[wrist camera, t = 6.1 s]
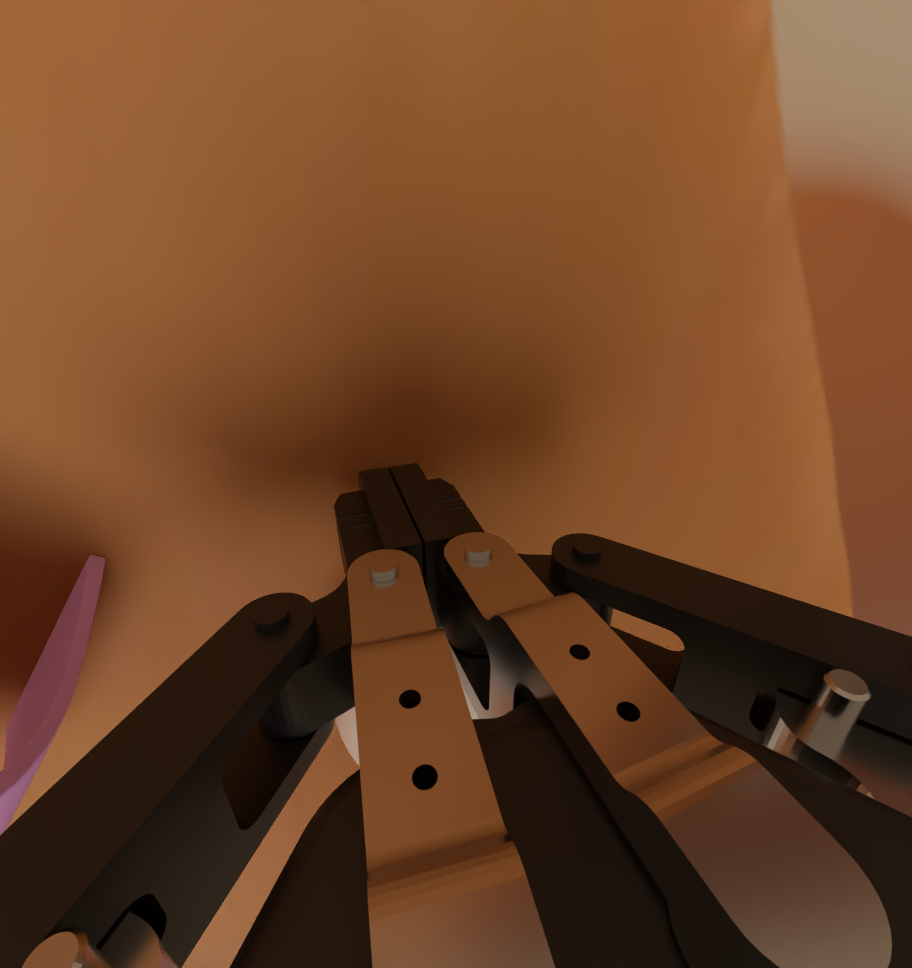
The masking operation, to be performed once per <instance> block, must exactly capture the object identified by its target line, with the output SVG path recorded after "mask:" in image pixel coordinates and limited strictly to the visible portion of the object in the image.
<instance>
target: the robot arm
mask: <svg viewBox="0 0 912 968" xmlns="http://www.w3.org/2000/svg"><path fill="white" fill-rule="evenodd" d="M358 481H359V490H360V491H355V492H349V493H343V494H340V496H339V498H338V499H337V501H336V503H335V505H334V508H335V515H336V522H337V529H338V536H339V542H340V549H341V556H342V561H343V566H344V571H345V576H346V577H345V579H344V581H343V583H342V584H341V585H340V586H339V587H338V588H337V589H336V590H335V591H333V592H332V593H330V594H329V595H327V596H325V597H323V598H321V599H319V600H317V601H315V602H313V603H311V602H310V601H309V600H308V599H307V598H305V597H304V596H301V595H299V594H294V593H275V594H270V595H267V596H263V597H261V598H258V599H256V600H254V601H252V602H250V603H249V604H247V605H246V606H244V607H243V608H242V609H241V610H240V611H238V612H237V613H236V614H235V615H234V616H233V617H232V618H231V619H230V620H229V621H228V622H227V623H226V624H225V625H224V626H223V627H221V628H220V629H219V630H218V631H217V632H216V633H215V634H214V635H213V636H212V637H211V638H210V639H209V640H208V641H207V642H205V643H204V644H203V645H202V646H201V647H200V648H199V649H198V650H197V651H196V652H195V653H194V654H193V655H192V656H191V657H190V658H188V659H187V660H186V661H185V662H184V663H183V664H182V665H181V666H180V667H179V668H178V669H177V670H176V671H175V672H174V673H172V674H171V675H170V676H169V677H168V678H167V679H166V680H165V681H164V682H163V683H162V684H161V685H160V686H159V687H158V688H157V689H155V690H154V691H153V692H152V693H151V694H150V695H149V696H148V697H147V698H146V699H145V700H144V701H143V702H142V703H141V704H139V705H138V706H137V707H136V708H135V709H134V710H133V711H132V712H131V713H130V714H129V715H128V716H127V717H126V718H125V719H124V720H122V721H121V722H120V723H119V724H118V725H117V726H116V727H115V728H114V729H113V730H112V731H111V732H110V733H109V734H108V735H106V736H105V737H104V738H103V739H102V740H101V741H100V742H99V743H98V744H97V745H96V746H95V747H94V748H93V749H92V750H91V751H89V752H88V753H87V754H86V755H85V756H84V757H83V758H82V759H81V760H80V761H79V762H78V763H77V764H76V765H75V766H73V767H72V768H71V769H70V770H69V771H68V772H67V773H66V774H65V775H64V776H63V777H62V778H61V779H60V780H59V781H58V782H56V783H55V784H54V785H53V786H52V787H51V788H50V789H49V790H48V791H47V792H46V793H45V794H44V795H43V796H42V797H41V798H39V799H38V800H37V801H36V802H35V803H34V804H33V805H32V806H31V807H30V808H29V809H28V810H27V811H26V812H25V813H23V814H22V815H21V816H20V817H19V818H18V819H17V820H16V821H15V822H14V823H13V824H12V825H11V826H10V827H9V828H8V829H6V830H5V831H4V832H3V833H2V834H1V835H0V968H181V967H182V966H183V964H184V962H185V961H186V959H187V958H188V956H189V955H190V953H191V952H192V950H193V948H194V947H195V945H196V944H197V942H198V941H199V939H200V937H201V936H202V934H203V933H204V931H205V930H206V928H207V926H208V925H209V923H210V922H211V920H212V919H213V917H214V915H215V914H216V912H217V911H218V909H219V908H220V906H221V905H222V903H223V901H224V900H225V898H226V897H227V895H228V894H229V892H230V890H231V889H232V887H233V886H234V884H235V883H236V881H237V879H238V878H239V876H240V875H241V873H242V872H243V870H244V868H245V867H246V865H247V864H248V862H249V861H250V859H251V858H252V856H253V854H254V853H255V851H256V850H257V848H258V847H259V845H260V843H261V842H262V840H263V839H264V837H265V836H266V834H267V832H268V831H269V829H270V828H271V826H272V825H273V823H274V821H275V820H276V818H277V817H278V815H279V814H280V812H281V811H282V809H283V807H284V806H285V804H286V803H287V801H288V800H289V798H290V796H291V795H292V793H293V792H294V790H295V789H296V787H297V785H298V784H299V782H300V781H301V779H302V778H303V776H304V774H305V773H306V771H307V770H308V768H309V767H310V765H311V763H312V762H313V760H314V759H315V757H316V756H317V754H318V753H319V751H320V749H321V748H322V746H323V745H324V743H325V742H326V740H327V738H328V737H329V735H330V733H331V731H332V729H333V726H334V720H335V718H337V717H338V716H340V715H341V714H343V713H345V712H346V711H348V710H350V709H351V708H353V707H355V712H356V725H357V738H358V752H359V765H360V769H359V770H358V771H356V772H355V773H354V774H352V775H351V776H350V777H349V778H347V779H346V780H345V781H344V782H343V783H342V784H341V785H340V786H339V787H338V788H337V789H335V790H334V791H333V792H332V793H331V795H330V796H329V797H328V798H327V799H326V800H325V802H324V803H323V804H322V805H321V806H320V807H319V809H318V810H317V812H316V813H315V815H314V816H313V817H312V819H311V820H310V822H309V823H308V825H307V827H306V828H305V830H304V832H303V833H302V835H301V837H300V839H299V841H298V843H297V844H296V846H295V848H294V850H293V852H292V854H291V855H290V857H289V859H288V861H287V863H286V865H285V866H284V868H283V870H282V872H281V874H280V876H279V878H278V879H277V881H276V883H275V885H274V887H273V889H272V890H271V892H270V894H269V896H268V898H267V900H266V901H265V903H264V905H263V907H262V909H261V911H260V913H259V914H258V916H257V918H256V920H255V922H254V924H253V925H252V927H251V929H250V931H249V933H248V935H247V936H246V938H245V940H244V942H243V944H242V946H241V948H240V949H239V951H238V953H237V955H236V957H235V959H234V960H233V962H232V964H231V966H230V968H912V637H911V636H908V635H904V634H901V633H898V632H895V631H892V630H889V629H886V628H883V627H880V626H876V625H873V624H870V623H867V622H864V621H861V620H858V619H855V618H852V617H848V616H845V615H842V614H839V613H836V612H833V611H830V610H827V609H823V608H820V607H817V606H814V605H811V604H808V603H805V602H802V601H799V600H795V599H792V598H789V597H786V596H783V595H780V594H777V593H774V592H770V591H767V590H764V589H761V588H758V587H755V586H752V585H749V584H746V583H742V582H739V581H736V580H733V579H730V578H727V577H724V576H721V575H717V574H714V573H711V572H708V571H705V570H702V569H699V568H696V567H692V566H689V565H686V564H683V563H680V562H677V561H674V560H671V559H668V558H664V557H661V556H658V555H655V554H652V553H649V552H646V551H643V550H639V549H636V548H633V547H630V546H627V545H624V544H621V543H618V542H615V541H611V540H608V539H605V538H602V537H599V536H595V535H591V534H582V533H578V534H569V535H565V536H563V537H561V538H559V539H557V540H556V541H555V542H554V544H553V546H552V553H551V555H527V554H518V553H516V552H515V551H514V550H513V549H512V547H511V546H510V545H509V544H508V543H507V542H506V541H505V540H503V539H502V538H500V537H498V536H496V535H493V534H489V533H485V532H484V531H483V529H482V528H481V526H480V525H479V523H478V522H477V520H476V519H475V517H474V516H473V514H472V513H471V511H470V510H469V508H468V507H467V506H466V504H465V502H464V501H463V499H461V496H460V495H459V493H458V492H457V490H456V489H455V487H454V486H453V485H451V484H449V483H447V482H446V481H444V480H442V479H440V478H437V479H431V480H427V479H426V477H425V475H424V473H423V472H422V470H421V468H420V467H419V465H418V464H417V463H413V464H406V465H399V466H393V467H389V468H387V467H386V468H380V469H373V470H366V471H359V472H358ZM613 608H614V609H616V610H619V611H622V612H624V613H627V614H629V615H632V616H635V617H637V618H640V619H642V620H645V621H647V622H650V623H653V624H655V625H658V626H660V627H663V628H665V629H668V630H670V631H672V632H673V633H675V634H676V635H677V636H678V637H679V638H680V639H681V640H682V642H683V644H684V647H685V650H683V651H671V650H668V649H666V648H663V647H661V646H658V645H656V644H653V643H651V642H648V641H646V640H644V639H641V638H639V637H636V636H634V635H631V634H629V633H626V632H624V631H621V630H619V629H617V628H614V627H612V626H610V624H611V618H612V613H613ZM441 627H443V628H441ZM437 628H438V629H437ZM461 684H462V685H461ZM462 686H463V688H464V690H465V692H466V694H467V696H468V698H469V700H470V702H471V704H472V706H473V708H474V710H475V712H476V714H477V716H478V718H479V719H472V718H471V715H470V711H469V708H468V705H467V701H466V698H465V695H464V692H463V688H462Z"/></svg>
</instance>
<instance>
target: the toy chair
mask: <svg viewBox="0 0 912 968" xmlns="http://www.w3.org/2000/svg"><path fill="white" fill-rule="evenodd" d="M105 561H106V558H103V557H100V556H96V555H92V554H91V555H90V556H89V557H88V559H87V561H86V563H85V565H84V567H83V569H82V571H81V573H80V575H79V577H78V579H77V582H76V584H75V586H74V588H73V590H72V592H71V594H70V596H69V598H68V600H67V602H66V604H65V606H64V608H63V610H62V613H61V615H60V617H59V619H58V621H57V623H56V625H55V627H54V629H53V631H52V633H51V635H50V637H49V639H48V641H47V644H46V646H45V648H44V650H43V652H42V654H41V656H40V658H39V660H38V662H37V664H36V666H35V668H34V670H33V672H32V675H31V677H30V679H29V681H28V683H27V685H26V687H25V689H24V691H23V693H22V695H21V697H20V699H19V701H18V703H17V706H16V708H15V710H14V712H13V714H12V716H11V718H10V720H9V722H8V725H7V728H6V744H5V761H4V769H3V770H2V771H1V772H0V835H1V834H2V833H3V832H4V831H5V830H6V828H7V826H8V825H9V823H10V821H11V819H12V817H13V815H14V813H15V811H16V809H17V807H18V805H19V803H20V802H21V800H22V798H23V796H24V794H25V792H26V790H27V788H28V786H29V784H30V782H31V780H32V778H33V777H34V775H35V773H36V771H37V769H38V767H39V765H40V763H41V761H42V759H43V757H44V755H45V753H46V752H47V750H48V748H49V746H50V744H51V742H52V740H53V738H54V736H55V734H56V732H57V730H58V728H59V726H60V723H61V721H62V719H63V717H64V715H65V713H66V711H67V709H68V706H69V703H70V701H71V698H72V695H73V693H74V690H75V687H76V684H77V681H78V678H79V674H80V671H81V667H82V664H83V660H84V657H85V653H86V649H87V645H88V640H89V636H90V632H91V628H92V624H93V619H94V615H95V610H96V605H97V601H98V596H99V591H100V586H101V581H102V576H103V571H104V567H105Z"/></svg>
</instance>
